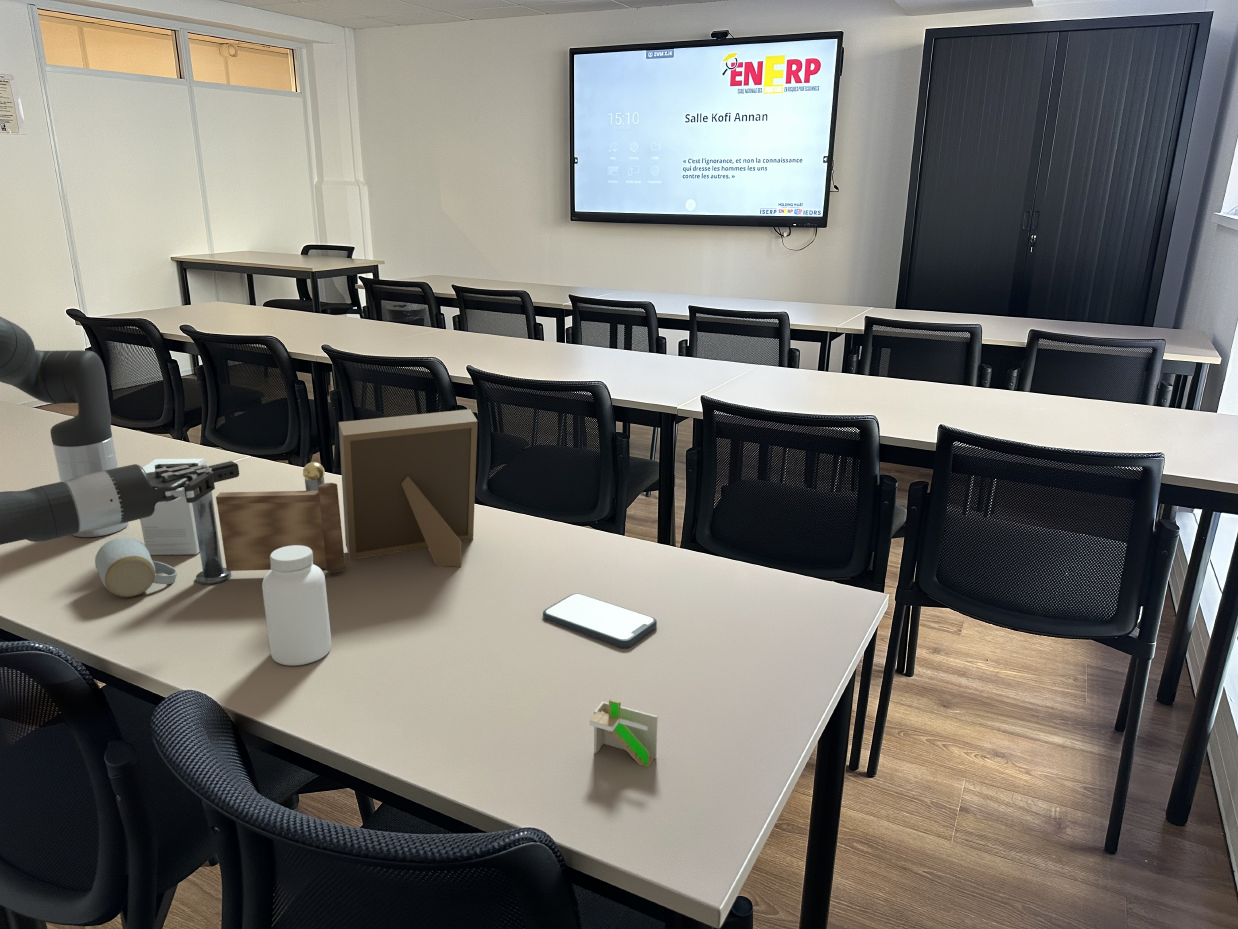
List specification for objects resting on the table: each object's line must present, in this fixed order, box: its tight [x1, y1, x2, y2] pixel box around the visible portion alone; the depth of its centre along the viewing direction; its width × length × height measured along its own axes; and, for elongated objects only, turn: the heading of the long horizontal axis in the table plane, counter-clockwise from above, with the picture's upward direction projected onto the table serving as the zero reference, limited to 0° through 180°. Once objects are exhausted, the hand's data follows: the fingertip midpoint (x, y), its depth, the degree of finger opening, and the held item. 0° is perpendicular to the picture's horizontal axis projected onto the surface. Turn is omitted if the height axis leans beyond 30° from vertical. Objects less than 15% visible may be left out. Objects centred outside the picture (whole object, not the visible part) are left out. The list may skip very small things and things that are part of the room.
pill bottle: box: [261, 545, 332, 666], centre depth 115 cm, size 8×8×15 cm
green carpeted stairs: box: [589, 698, 659, 768], centre depth 95 cm, size 4×7×8 cm, turn 66°
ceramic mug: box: [94, 536, 178, 598], centre depth 135 cm, size 11×8×8 cm
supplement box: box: [139, 458, 207, 556], centre depth 149 cm, size 9×9×15 cm
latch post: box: [302, 461, 326, 570], centre depth 142 cm, size 5×5×18 cm
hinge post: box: [192, 490, 232, 585], centre depth 137 cm, size 5×5×16 cm
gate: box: [215, 482, 346, 573], centre depth 138 cm, size 18×3×14 cm, turn 95°
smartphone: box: [542, 593, 658, 650], centre depth 127 cm, size 9×2×16 cm
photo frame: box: [338, 408, 479, 568], centre depth 144 cm, size 15×22×25 cm
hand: (236, 468), depth 127 cm, fingers closed
